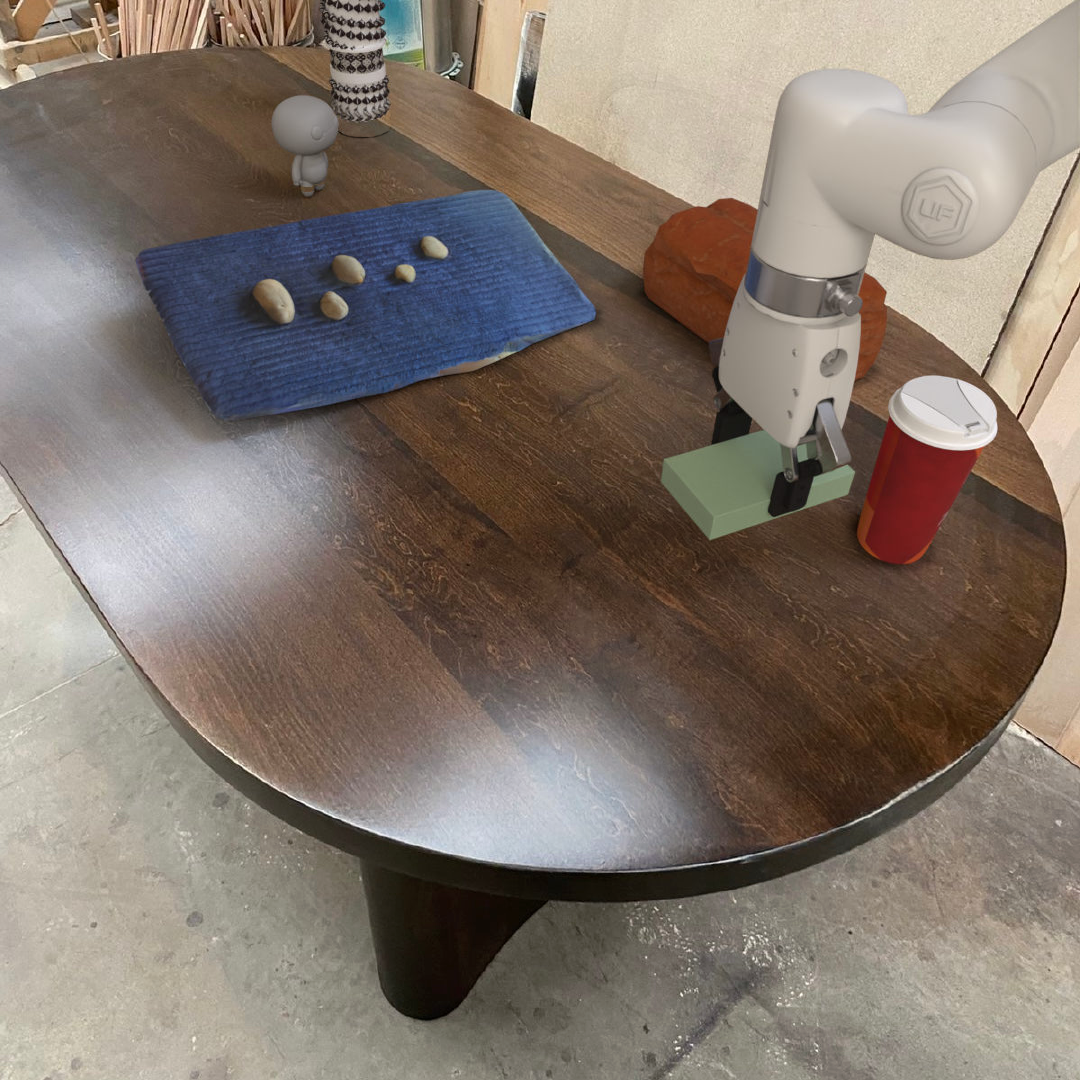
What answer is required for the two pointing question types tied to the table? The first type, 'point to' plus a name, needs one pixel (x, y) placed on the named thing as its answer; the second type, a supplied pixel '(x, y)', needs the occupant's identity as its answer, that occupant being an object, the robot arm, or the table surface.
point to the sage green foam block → (739, 482)
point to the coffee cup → (923, 464)
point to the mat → (358, 301)
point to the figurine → (306, 137)
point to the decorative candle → (356, 58)
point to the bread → (728, 274)
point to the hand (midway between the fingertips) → (756, 477)
